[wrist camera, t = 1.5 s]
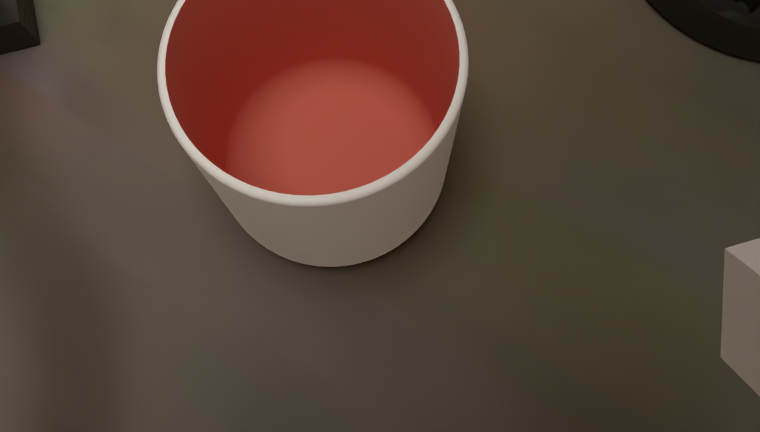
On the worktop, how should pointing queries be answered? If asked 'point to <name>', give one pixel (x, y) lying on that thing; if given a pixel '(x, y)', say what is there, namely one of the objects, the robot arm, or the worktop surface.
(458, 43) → the cup
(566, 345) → the worktop surface
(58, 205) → the worktop surface
